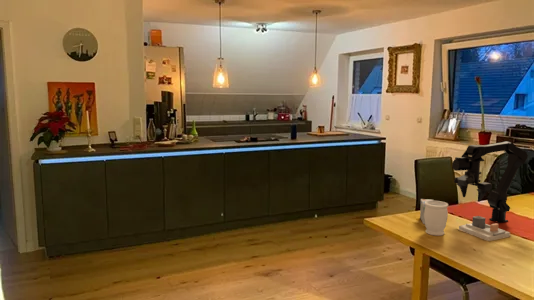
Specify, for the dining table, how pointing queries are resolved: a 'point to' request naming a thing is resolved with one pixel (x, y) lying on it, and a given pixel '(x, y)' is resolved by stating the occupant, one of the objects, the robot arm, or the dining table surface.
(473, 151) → the robot arm
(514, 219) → the dining table surface
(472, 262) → the dining table surface
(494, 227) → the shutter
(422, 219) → the light bulb box
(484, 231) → the socket plate
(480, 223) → the plug
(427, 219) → the jar
